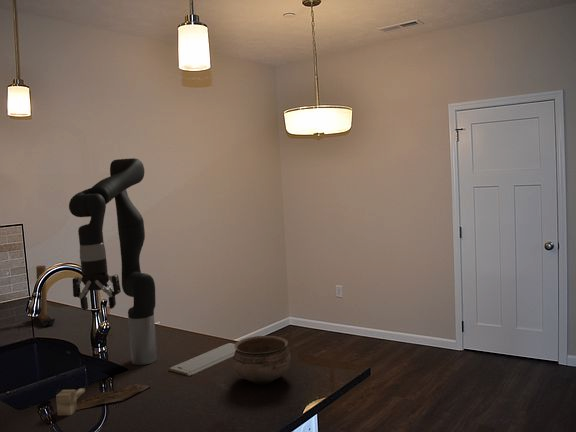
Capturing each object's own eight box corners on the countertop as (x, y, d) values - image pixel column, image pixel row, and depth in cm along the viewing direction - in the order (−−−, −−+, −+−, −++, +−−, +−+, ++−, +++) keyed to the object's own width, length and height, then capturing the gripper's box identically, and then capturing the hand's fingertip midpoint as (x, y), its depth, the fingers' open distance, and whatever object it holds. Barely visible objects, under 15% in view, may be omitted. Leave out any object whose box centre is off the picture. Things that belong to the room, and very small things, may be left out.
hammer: (55, 330, 250) (53, 271, 244) (44, 332, 247) (42, 273, 241) (41, 316, 265) (40, 260, 258) (31, 318, 261) (29, 261, 255)
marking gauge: (76, 397, 164) (75, 379, 164) (89, 397, 164) (87, 379, 164) (57, 415, 152) (55, 395, 152) (70, 415, 152) (69, 395, 152)
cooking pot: (309, 383, 167) (307, 346, 166) (260, 401, 155) (258, 361, 154) (264, 363, 187) (263, 329, 186) (218, 377, 175) (216, 342, 174)
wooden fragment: (144, 382, 174) (143, 379, 174) (155, 393, 165) (155, 390, 165) (61, 405, 160) (61, 402, 160) (69, 418, 151) (69, 414, 151)
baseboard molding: (252, 351, 202) (229, 346, 209) (251, 344, 202) (228, 339, 209) (193, 378, 177) (169, 372, 184) (192, 370, 177) (168, 364, 184)
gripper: (120, 254, 165) (125, 304, 167) (76, 257, 166) (82, 306, 168) (110, 259, 158) (116, 311, 160) (65, 261, 159) (71, 313, 160)
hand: (98, 308), depth 164 cm, fingers open, 8 cm apart
